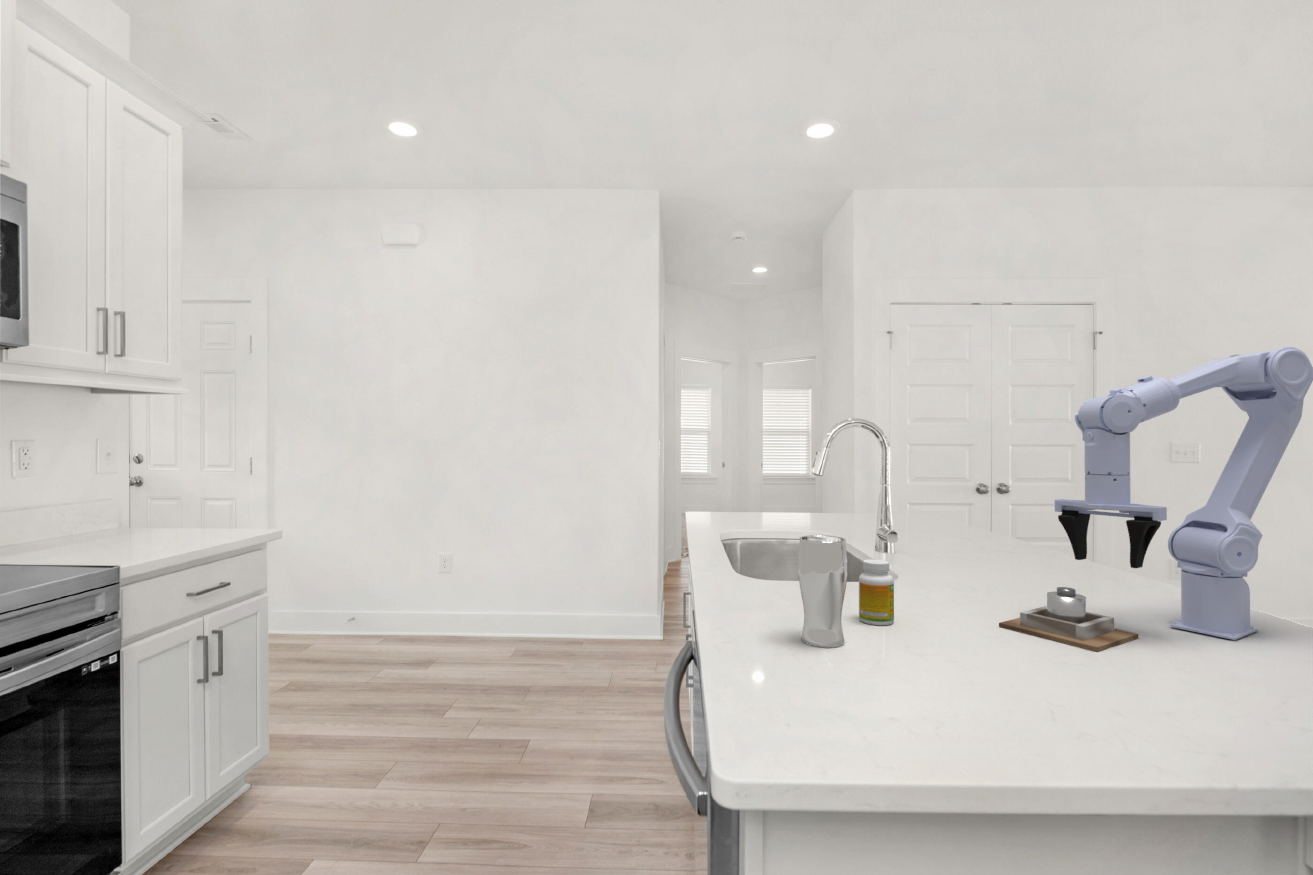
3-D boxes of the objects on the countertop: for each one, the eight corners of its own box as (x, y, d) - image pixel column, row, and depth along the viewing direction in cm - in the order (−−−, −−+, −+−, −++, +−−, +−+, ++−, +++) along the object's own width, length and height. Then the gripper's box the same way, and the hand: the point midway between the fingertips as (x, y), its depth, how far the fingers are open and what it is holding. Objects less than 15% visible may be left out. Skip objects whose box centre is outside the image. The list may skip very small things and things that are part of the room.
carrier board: (1041, 615, 106) (1040, 600, 106) (1138, 637, 94) (1138, 620, 94) (998, 626, 100) (998, 610, 100) (1097, 651, 88) (1097, 632, 88)
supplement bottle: (896, 627, 100) (896, 565, 100) (860, 625, 101) (860, 563, 101) (891, 617, 106) (891, 558, 106) (857, 616, 107) (857, 557, 107)
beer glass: (794, 645, 91) (794, 540, 91) (802, 631, 98) (802, 533, 98) (845, 651, 89) (844, 543, 89) (849, 637, 95) (849, 536, 95)
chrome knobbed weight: (1059, 621, 101) (1059, 583, 101) (1093, 630, 96) (1093, 590, 96) (1039, 626, 99) (1039, 587, 99) (1073, 634, 94) (1073, 594, 94)
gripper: (1044, 473, 102) (1044, 558, 102) (1150, 477, 90) (1151, 574, 90) (1067, 472, 106) (1067, 554, 106) (1173, 476, 93) (1173, 569, 93)
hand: (1107, 563), depth 98 cm, fingers open, 7 cm apart
